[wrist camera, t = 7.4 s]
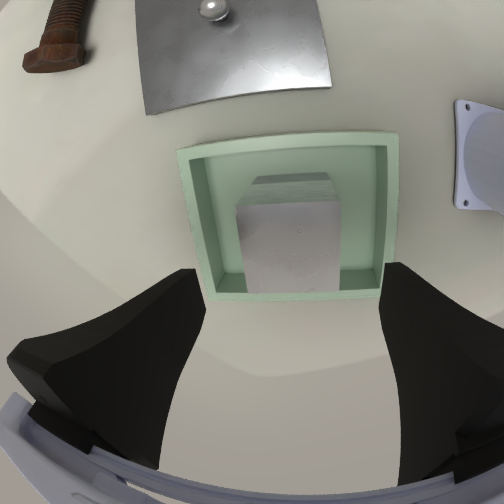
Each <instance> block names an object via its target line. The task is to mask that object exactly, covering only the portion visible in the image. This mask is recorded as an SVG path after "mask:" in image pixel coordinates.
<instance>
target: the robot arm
mask: <svg viewBox="0 0 504 504" xmlns="http://www.w3.org/2000/svg"><path fill="white" fill-rule="evenodd" d="M465 105H467V107H468V110H466V108H465ZM455 115H456V139H457V158H456V183H455V196H454V205H455V207H456V208H458V209H463V210H495V211H497V212H498V213H500V214H501V215H503V216H504V110H501V109H498V108H494V107H491V106H487V105H483V104H479V103H475V102H471V101H467V100H462V99H458V100H456V101H455ZM465 200H466V204H465V205H464V201H465ZM205 313H206V307H205V304H204V300H203V296H202V293H201V289H200V285H199V281H198V278H197V274H196V270H195V269H180V270H178V271H176V272H174V273H172V274H171V275H169V276H167V277H166V278H164V279H163V280H161V281H159V282H158V283H156V284H155V285H153V286H152V287H150V288H149V289H147V290H145V291H144V292H142V293H141V294H139V295H137V296H136V297H134V298H132V299H131V300H129V301H127V302H126V303H124V304H122V305H121V306H119V307H117V308H115V309H113V310H112V311H109V312H107V313H105V314H103V315H101V316H99V317H97V318H95V319H92V320H90V321H87V322H85V323H82V324H80V325H77V326H75V327H72V328H69V329H66V330H63V331H59V332H56V333H52V334H48V335H44V336H39V337H34V338H29V339H24V340H22V341H21V342H20V343H19V344H18V345H17V346H16V347H15V349H13V351H12V352H11V353H10V354H9V355H8V357H7V364H8V365H9V368H10V369H11V371H12V372H13V374H14V375H15V376H16V378H17V379H18V380H19V381H20V383H21V384H22V385H23V386H24V387H25V389H26V390H27V391H28V392H29V393H30V394H31V395H32V397H34V399H35V400H36V402H35V403H34V405H32V404H31V403H30V402H29V401H27V400H26V399H25V398H23V397H22V396H21V395H19V394H18V393H17V392H13V393H12V395H11V396H10V397H9V399H8V400H7V402H6V403H5V404H4V406H3V407H2V409H1V410H0V447H1V449H2V450H3V451H4V452H5V454H6V455H7V456H8V457H9V458H10V460H11V461H12V463H13V464H14V465H15V466H16V468H17V469H18V470H19V471H20V472H21V474H22V475H23V476H24V477H25V479H26V480H27V481H28V482H29V483H30V484H31V485H32V487H33V488H34V489H35V490H36V491H37V492H38V493H39V494H40V495H41V496H42V497H43V498H44V499H45V500H46V501H47V502H48V503H49V504H164V503H162V502H160V501H158V500H156V499H154V498H152V497H150V496H148V495H147V494H145V493H143V492H141V491H138V490H136V489H134V488H131V487H129V486H128V485H127V483H126V481H127V482H129V483H131V484H134V485H136V486H139V487H141V488H144V489H146V490H149V491H152V492H155V493H158V494H160V495H164V496H166V497H170V498H173V499H176V500H179V501H183V502H187V503H190V504H504V329H503V328H501V327H499V326H497V325H495V324H493V323H490V322H488V321H486V320H485V319H483V318H481V317H479V316H477V315H475V314H474V313H472V312H470V311H469V310H467V309H465V308H464V307H462V306H460V305H459V304H457V303H456V302H454V301H453V300H452V299H450V298H449V297H447V296H446V295H444V294H443V293H442V292H440V291H439V290H437V289H436V288H435V287H433V286H432V285H431V284H429V283H428V282H427V281H425V280H424V279H423V278H422V277H420V276H419V275H418V274H416V273H415V272H414V271H412V270H411V269H410V268H408V267H407V266H405V265H404V264H402V263H401V262H392V263H385V266H384V274H383V281H382V288H381V295H380V301H379V313H380V320H381V325H382V330H383V334H384V337H385V341H386V344H387V348H388V351H389V355H390V358H391V362H392V365H393V369H394V373H395V377H396V382H397V387H398V396H399V405H400V421H401V454H400V455H401V456H400V468H399V478H398V485H397V486H396V487H391V488H385V489H379V490H373V491H365V492H356V493H345V494H329V495H287V494H269V493H260V492H251V491H243V490H235V489H230V488H224V487H218V486H213V485H208V484H204V483H199V482H194V481H191V480H187V479H183V478H179V477H176V476H172V475H169V474H165V473H162V472H159V471H156V470H158V469H159V459H160V453H161V446H162V440H163V435H164V430H165V426H166V421H167V417H168V413H169V409H170V405H171V402H172V398H173V395H174V392H175V388H176V385H177V382H178V380H179V377H180V375H181V372H182V370H183V368H184V366H185V363H186V361H187V359H188V357H189V355H190V352H191V350H192V348H193V346H194V344H195V342H196V339H197V337H198V335H199V333H200V330H201V327H202V324H203V320H204V316H205Z"/></svg>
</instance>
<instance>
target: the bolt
mask: <svg viewBox="0 0 504 504" xmlns="http://www.w3.org/2000/svg"><path fill="white" fill-rule="evenodd" d="M86 2H87V0H54V1H53V4H52V7H51V10H50V13H49V16H48V19H47V23H46V26H45V30H44V33H43V35H42V37H41V41H40V45H39V47H38V48H36V49H34V50H32V51H30V52H28V53H26V54H25V55H24V59H23V65H22V67H23V69H24V70H25V71H26V72H28V73H52V72H60V71H66V70H70V69H75V68H77V67H79V66H80V65H82V64H83V63H84V58H85V53H86V50H85V49H84V48H83V47H82V46H81V45H79V44H76V41H77V36H78V28H79V24H80V21H81V18H82V14H83V11H84V8H85V5H86Z"/></svg>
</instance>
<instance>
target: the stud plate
mask: <svg viewBox="0 0 504 504" xmlns="http://www.w3.org/2000/svg"><path fill="white" fill-rule="evenodd" d="M135 13H136V31H137V44H138V55H139V65H140V74H141V83H142V91H143V98H144V105H145V112H146V115H155V114H159V113H162V112H166V111H170V110H174V109H178V108H182V107H186V106H190V105H195V104H199V103H204V102H209V101H214V100H219V99H225V98H231V97H237V96H243V95H250V94H258V93H266V92H275V91H286V90H300V89H320V88H331V87H332V85H331V78H330V71H329V64H328V58H327V52H326V47H325V41H324V36H323V31H322V26H321V21H320V16H319V12H318V7H317V3H316V0H135Z"/></svg>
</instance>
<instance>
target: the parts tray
mask: <svg viewBox="0 0 504 504" xmlns="http://www.w3.org/2000/svg"><path fill="white" fill-rule="evenodd" d="M176 155H177V160H178V166H179V171H180V177H181V182H182V187H183V192H184V197H185V202H186V206H187V211H188V216H189V221H190V225H191V230H192V234H193V239H194V243H195V247H196V252H197V256H198V260H199V264H200V268H201V272H202V276H203V280H204V284H205V288H206V292H207V296H208V300H209V301H300V300H331V299H353V298H371V297H380V295H381V288H382V281H383V274H384V266H385V263H392V262H393V260H394V251H395V242H396V231H397V217H398V199H399V140H398V133H393V132H387V131H376V130H332V131H307V132H291V133H279V134H268V135H258V136H249V137H241V138H234V139H227V140H220V141H213V142H207V143H201V144H196V145H192V146H188V147H185V148H181V149H178V150H176ZM316 172H327V174H328V176H329V178H330V180H331V182H332V184H333V186H334V188H335V190H336V193H337V195H338V197H339V199H340V201H341V254H340V283H339V291H338V292H311V293H263V294H248V290H247V284H246V278H245V272H244V266H243V260H242V253H241V247H240V241H239V234H238V228H237V222H236V215H235V209H234V206H235V205H236V204H237V202H238V201H239V200H240V198H241V197H242V196H243V194H244V193H245V192H246V190H247V189H248V188H249V186H250V185H251V184H252V182H253V181H254V180H255V178H256V177H257V176H268V175H281V174H296V173H316Z"/></svg>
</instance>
